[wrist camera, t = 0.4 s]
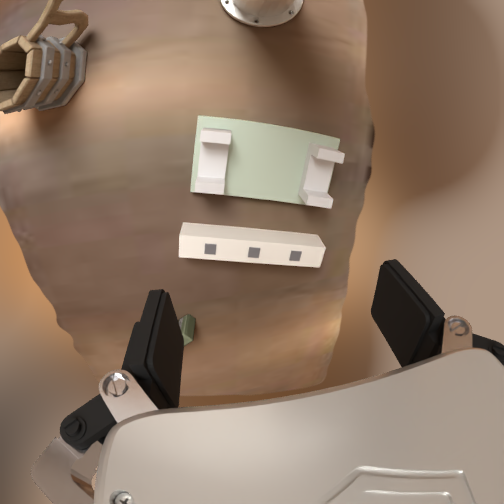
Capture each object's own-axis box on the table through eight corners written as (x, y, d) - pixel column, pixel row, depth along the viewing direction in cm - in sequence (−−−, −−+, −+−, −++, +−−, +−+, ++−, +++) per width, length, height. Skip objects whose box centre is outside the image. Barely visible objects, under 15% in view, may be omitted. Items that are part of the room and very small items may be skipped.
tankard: (55, 122, 33) (-1, 138, 21) (21, 85, 28) (-34, 92, 15) (132, 30, 28) (93, 3, 15) (91, -4, 23) (47, -29, 10)
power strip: (183, 221, 46) (179, 235, 42) (317, 234, 50) (326, 248, 45) (182, 242, 48) (178, 257, 44) (311, 252, 52) (320, 268, 47)
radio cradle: (199, 115, 37) (194, 117, 32) (336, 137, 41) (353, 144, 35) (191, 188, 43) (186, 202, 37) (320, 204, 47) (333, 219, 41)
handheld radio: (198, 320, 58) (135, 362, 64) (187, 311, 57) (125, 355, 63) (195, 342, 52) (129, 381, 58) (183, 333, 51) (119, 375, 57)
